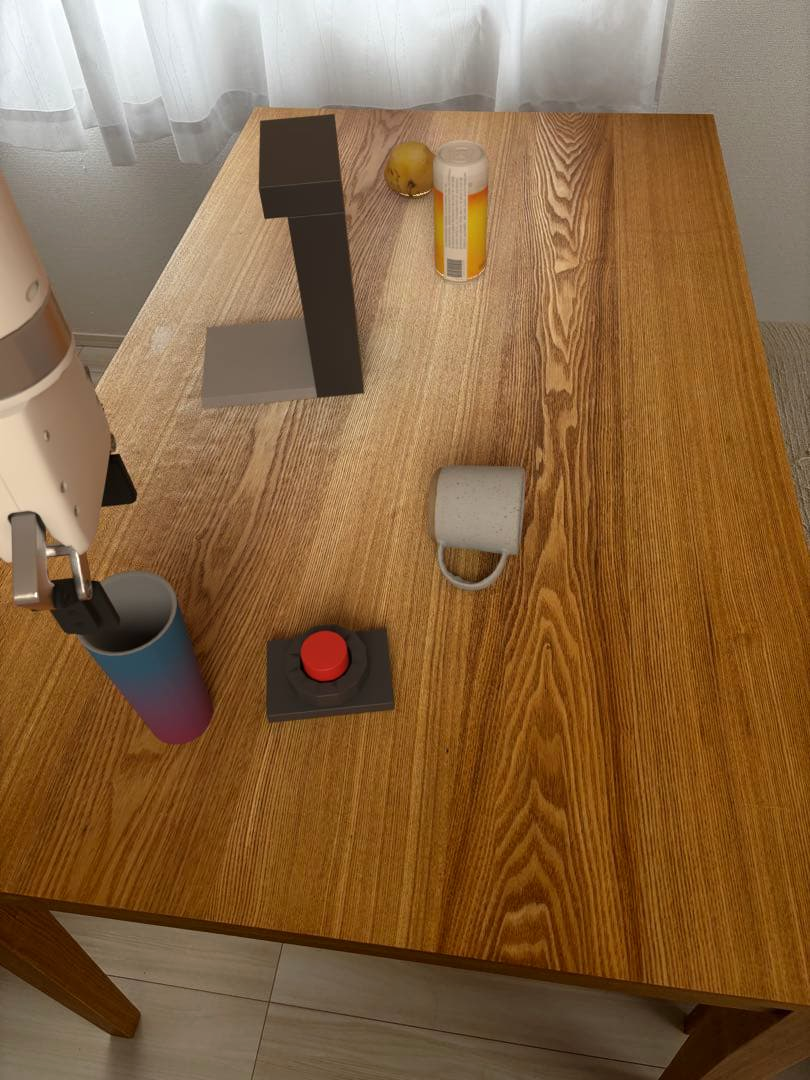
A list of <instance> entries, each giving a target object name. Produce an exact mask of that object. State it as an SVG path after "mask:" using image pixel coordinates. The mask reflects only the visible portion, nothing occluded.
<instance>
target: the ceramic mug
mask: <svg viewBox="0 0 810 1080" xmlns="http://www.w3.org/2000/svg"><path fill="white" fill-rule="evenodd" d="M525 488H526V470H525V468H524V467H523V466H517V465H515V466H512V465H511V466H510V465H509V466H507V465H506V466H505V465H471V464H470V465H466V464H451V465H446V466H445V465H444V466H440V467H438V468H437V469H436V470H435V471H434V472H433V474H432V475H431V480H430V484H429V492H428V502H427V531H428V536H429V538H430V539H431V540H432V541H433V543H435V544H437V545H438V548H437V560H438V565H439V566H438V567H439V569H440V573H442V575H443V577H444V578H445V580H447V581H448V583H450V584H451V585H453V586H454V587H456V588H458V589H461V590H465V591H480V590H484V589H486V588H488V587H490V586H491V585H492V584H493V583H495V582H496V581H497V580H498V578H499V577H500V576H501V574H502V572H503V570H504V568H505V565H506V563H507V560H508V557H509V556H517V555H518V554H519V552H520V544H521V540H522V530H523V522H524V509H525V494H526V493H525V492H526V489H525ZM446 548H455V549H465V550H474V551H481V552H486V553H493V554H500V555H501V558H500V560H499V562H498V563H497V565H496V567H495V569H494V570H493V571H492V573H491V574H489V575H488V576H487V577H485V578H483V579H482V580H481V581H479V582H473V581H468V580H465V579H463V578H461V577H460V576H459V575H454V574H453V573H452V572H450V571H448V569H447V567H446V566H445V565H446V564H445V558H444V557H445V556H444V554H445V549H446Z"/></svg>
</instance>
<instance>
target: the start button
mask: <svg viewBox="0 0 810 1080" xmlns="http://www.w3.org/2000/svg"><path fill="white" fill-rule="evenodd" d="M301 658H302V661H303V665H304V669H305V671H306V673H307V674H308V675H309V676H310V677H312V678H313V679H315V680H318V681H331V680H334V679H336V678H338V677H339V676H341V675H342V674H343V673H344V672H345V670H346V669H347V666H348V663H349V657H348V651H347V646H346V643H345V641H344V639H343V638H342V637H341V636H340V635H338V634H337V633H334V632H331V631H320V632H317V633H314V634H312V635H311V636H309V637H308V638H307V639H306V640H305V641H304V643H303V645H302V648H301Z"/></svg>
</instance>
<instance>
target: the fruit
mask: <svg viewBox="0 0 810 1080" xmlns="http://www.w3.org/2000/svg"><path fill="white" fill-rule="evenodd" d="M435 156H436V154H435V153H434V152H433V151H432V150H431V149H430V148H429V146H428V145H426V144H425V143H423V142H418V141H406V142H402V143H400V144H397V146H395V147H394V148H393V150H392V151H391V152H390V155H389V158H388V160H387V163H386V164H385V166H384V167H385V168H384V170H383V177H384V179H385V182H386V184H387V186H388V187H389V188H390V189H391V190H392V191H394V192H395V193H397V192H398V193H397V194H399V193H403V194H408V195H409V196H405V195H401V194H399V195H400V196H402V197H403V198H408V199H421V198H423V197H425V196H427V195H428V194H429V193H430V192H428V193H426V194H423V195H420V196H413V195H416V194H420V193H424V192H427V191H429V190H430V189H432V188H433V160H434V158H435ZM432 190H433V189H432Z"/></svg>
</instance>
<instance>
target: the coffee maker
mask: <svg viewBox="0 0 810 1080" xmlns="http://www.w3.org/2000/svg"><path fill="white" fill-rule="evenodd" d="M258 158H259V159H258V192H259V193H258V194H259V198H260V203H261V209H262V214H263V218H264V220H271V219H281V218H287V223H288V224H287V225H288V230H289V234H290V241H291V242H290V243H291V247H292V254H293V260H294V266H295V272H296V278H297V286H298V290H299V296H300V297H299V298H300V303H301V308H302V316H303V318H302V317H300V318H290V319H289V318H288V319H280V320H270V321H260V322H249V323H238V324H229V325H228V324H226V325H217V326H208V327H207V326H206V333H205V344H204V358H203V369H202V371H203V372H202V382H201V383H202V384H201V397H200V399H201V402H202V406H203V409H204V410H209V409H219V408H228V407H229V408H230V407H239V406H250V405H259V404H269V403H279V402H291V401H301V400H310V399H321V398H328V397H330V398H331V397H340V396H341V397H342V396H348V395H361V394H365V389H364V378H363V369H362V368H363V367H362V357H361V347H360V337H359V336H360V335H359V328H358V317H357V307H356V300H355V299H356V297H355V290H354V281H353V280H354V279H353V271H352V260H351V254H350V253H351V251H350V244H349V243H350V242H349V234H348V233H349V232H348V224H347V216H346V215H347V213H346V207H345V196H344V188H343V186H344V185H343V177H342V170H341V158H340V151H339V140H338V132H337V124H336V115H335V113H329V114H319V115H309V116H308V115H307V116H296V117H285V118H274V119H263V120H260V121H259V151H258Z"/></svg>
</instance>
